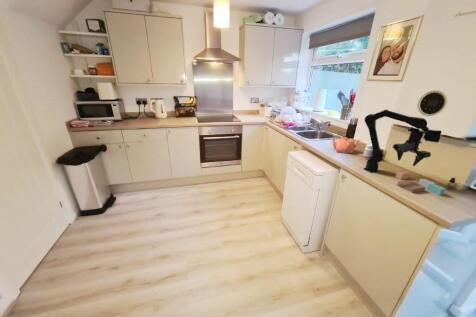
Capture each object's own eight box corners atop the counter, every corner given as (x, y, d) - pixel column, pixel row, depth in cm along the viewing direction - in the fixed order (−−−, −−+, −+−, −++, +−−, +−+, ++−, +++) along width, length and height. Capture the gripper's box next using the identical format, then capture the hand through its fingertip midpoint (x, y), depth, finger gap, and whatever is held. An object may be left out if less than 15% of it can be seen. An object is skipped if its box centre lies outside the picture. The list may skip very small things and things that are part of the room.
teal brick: (426, 190, 116) (429, 184, 114) (430, 189, 117) (433, 183, 115) (438, 195, 110) (441, 189, 109) (443, 194, 111) (446, 188, 110)
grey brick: (417, 185, 122) (420, 179, 120) (422, 184, 122) (424, 178, 121) (429, 189, 116) (431, 183, 115) (433, 189, 117) (435, 183, 116)
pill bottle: (368, 157, 166) (371, 144, 162) (372, 160, 160) (376, 146, 156) (360, 157, 166) (364, 144, 162) (365, 159, 160) (368, 146, 156)
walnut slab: (396, 186, 120) (398, 181, 119) (407, 184, 123) (409, 180, 122) (412, 193, 112) (414, 188, 111) (423, 191, 115) (425, 187, 113)
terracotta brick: (400, 179, 128) (402, 173, 127) (395, 177, 131) (396, 171, 130) (407, 178, 130) (409, 173, 128) (401, 176, 133) (403, 170, 131)
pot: (339, 147, 191) (342, 134, 187) (358, 152, 178) (361, 138, 173) (327, 150, 182) (330, 136, 177) (346, 155, 168) (349, 141, 164)
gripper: (389, 135, 127) (382, 158, 133) (421, 144, 111) (412, 170, 116) (402, 135, 130) (395, 157, 136) (436, 143, 114) (425, 168, 119)
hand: (406, 163), depth 127 cm, fingers open, 9 cm apart
